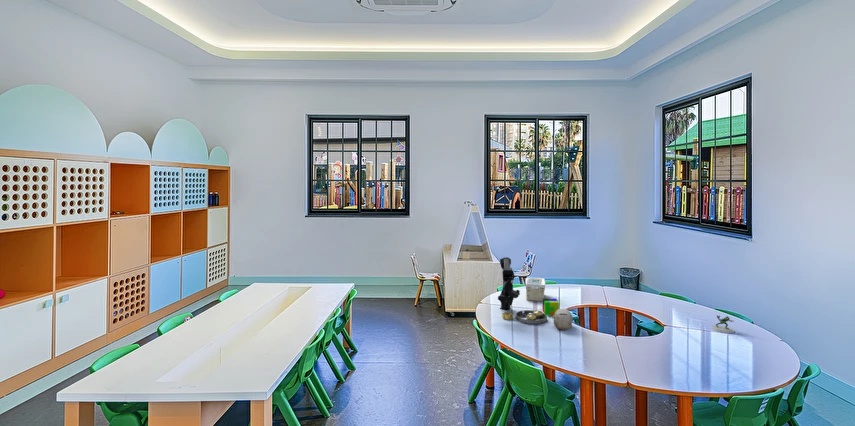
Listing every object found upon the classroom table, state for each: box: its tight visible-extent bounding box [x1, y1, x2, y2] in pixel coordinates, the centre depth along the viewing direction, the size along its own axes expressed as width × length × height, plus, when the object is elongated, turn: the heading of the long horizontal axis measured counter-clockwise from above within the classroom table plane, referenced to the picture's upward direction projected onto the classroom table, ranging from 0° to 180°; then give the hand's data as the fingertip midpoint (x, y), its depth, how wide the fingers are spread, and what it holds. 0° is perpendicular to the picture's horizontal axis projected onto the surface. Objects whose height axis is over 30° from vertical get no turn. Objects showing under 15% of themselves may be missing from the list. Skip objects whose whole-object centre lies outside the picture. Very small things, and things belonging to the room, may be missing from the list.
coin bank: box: [552, 308, 574, 331], centre depth 266 cm, size 16×17×13 cm
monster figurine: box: [711, 314, 735, 334], centre depth 258 cm, size 12×12×10 cm
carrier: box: [514, 309, 548, 325], centre depth 283 cm, size 22×22×5 cm
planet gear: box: [501, 311, 514, 321], centre depth 285 cm, size 7×7×4 cm
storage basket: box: [525, 277, 546, 302], centre depth 335 cm, size 24×16×15 cm
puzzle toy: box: [542, 297, 560, 316], centre depth 294 cm, size 10×10×10 cm
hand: (507, 306), depth 285 cm, fingers open, 9 cm apart
